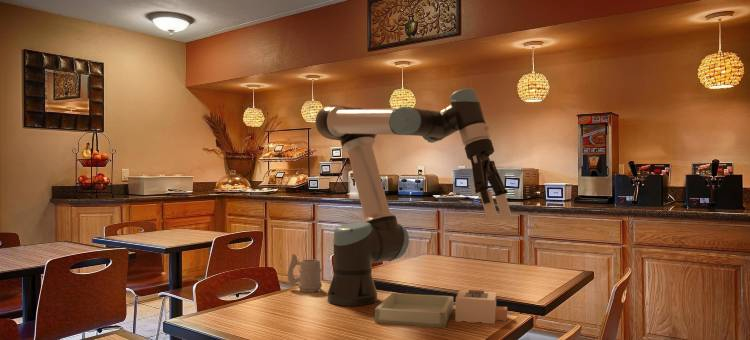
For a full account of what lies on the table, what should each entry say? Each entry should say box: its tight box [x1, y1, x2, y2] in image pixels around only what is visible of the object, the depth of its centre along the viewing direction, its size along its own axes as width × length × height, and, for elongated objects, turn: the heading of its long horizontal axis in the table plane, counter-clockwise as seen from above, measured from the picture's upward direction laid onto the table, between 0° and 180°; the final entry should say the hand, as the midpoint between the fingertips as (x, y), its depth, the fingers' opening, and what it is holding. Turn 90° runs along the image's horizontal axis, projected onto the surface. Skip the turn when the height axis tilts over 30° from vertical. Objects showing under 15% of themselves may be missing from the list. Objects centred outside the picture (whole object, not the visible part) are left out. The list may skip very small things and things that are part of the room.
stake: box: [468, 289, 485, 298], centre depth 140 cm, size 4×2×7 cm, turn 75°
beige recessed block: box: [455, 289, 508, 324], centre depth 140 cm, size 13×10×6 cm
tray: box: [374, 292, 455, 329], centre depth 143 cm, size 18×20×4 cm
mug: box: [287, 253, 323, 293], centre depth 175 cm, size 8×12×12 cm, turn 80°
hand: (499, 217), depth 138 cm, fingers open, 13 cm apart
